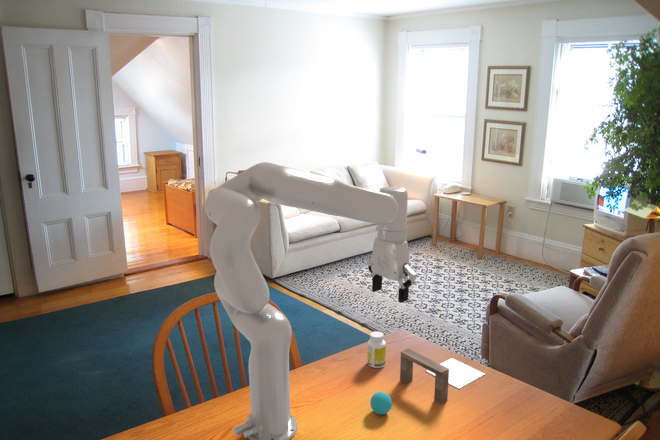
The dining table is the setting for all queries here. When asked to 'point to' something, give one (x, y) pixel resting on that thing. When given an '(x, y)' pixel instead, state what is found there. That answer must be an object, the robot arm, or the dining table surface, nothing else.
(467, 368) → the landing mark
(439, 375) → the bridge
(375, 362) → the supplement bottle
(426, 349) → the dining table surface
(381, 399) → the ball
